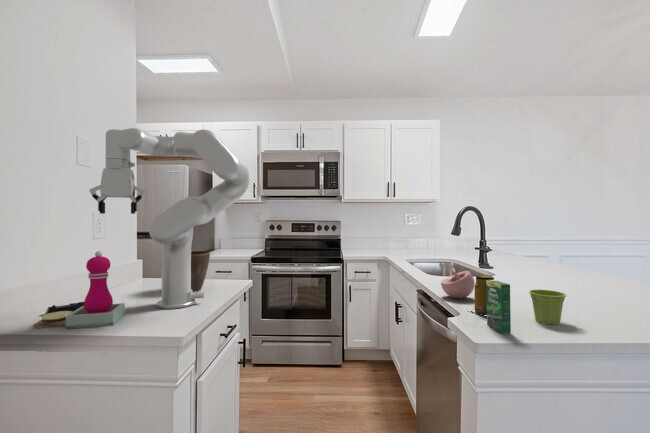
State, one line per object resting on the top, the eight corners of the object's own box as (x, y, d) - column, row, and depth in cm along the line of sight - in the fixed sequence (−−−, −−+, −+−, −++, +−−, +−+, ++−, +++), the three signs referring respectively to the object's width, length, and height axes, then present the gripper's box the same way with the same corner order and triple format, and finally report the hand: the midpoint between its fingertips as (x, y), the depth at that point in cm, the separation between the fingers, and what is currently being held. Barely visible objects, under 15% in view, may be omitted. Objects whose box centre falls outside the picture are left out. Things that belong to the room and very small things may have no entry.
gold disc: (77, 316, 103) (77, 310, 103) (66, 323, 96) (66, 316, 96) (49, 318, 101) (49, 312, 101) (36, 325, 94) (36, 318, 94)
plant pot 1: (209, 293, 137) (209, 254, 137) (169, 295, 133) (169, 255, 133) (211, 286, 151) (211, 250, 151) (175, 288, 147) (175, 251, 147)
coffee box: (485, 324, 97) (485, 279, 97) (495, 324, 97) (495, 279, 97) (500, 334, 89) (500, 284, 89) (511, 333, 89) (511, 284, 89)
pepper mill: (77, 321, 97) (77, 252, 97) (98, 314, 104) (98, 249, 104) (98, 322, 96) (98, 252, 96) (118, 315, 103) (118, 250, 103)
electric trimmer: (104, 308, 116) (104, 299, 116) (45, 317, 105) (46, 307, 105) (101, 306, 118) (102, 297, 118) (44, 315, 107) (44, 305, 108)
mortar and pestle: (438, 294, 136) (438, 265, 136) (469, 295, 134) (469, 266, 134) (444, 301, 124) (444, 270, 124) (478, 302, 122) (478, 271, 122)
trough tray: (124, 314, 107) (124, 303, 107) (113, 325, 96) (113, 312, 96) (82, 317, 104) (82, 305, 104) (65, 329, 93) (65, 316, 93)
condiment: (484, 309, 113) (484, 273, 113) (506, 316, 105) (506, 278, 105) (467, 311, 110) (467, 275, 111) (488, 318, 103) (488, 279, 103)
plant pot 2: (523, 320, 100) (523, 291, 100) (536, 315, 106) (536, 287, 106) (559, 329, 93) (559, 297, 93) (571, 322, 98) (571, 293, 98)
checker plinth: (79, 317, 103) (79, 313, 103) (67, 325, 96) (67, 321, 96) (48, 319, 101) (48, 315, 101) (34, 328, 93) (34, 323, 93)
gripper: (147, 168, 125) (147, 213, 125) (93, 166, 120) (93, 213, 120) (142, 165, 118) (142, 213, 118) (85, 162, 113) (85, 213, 113)
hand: (117, 213), depth 119 cm, fingers open, 9 cm apart
